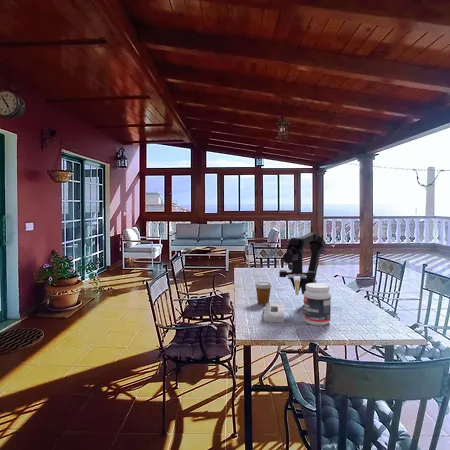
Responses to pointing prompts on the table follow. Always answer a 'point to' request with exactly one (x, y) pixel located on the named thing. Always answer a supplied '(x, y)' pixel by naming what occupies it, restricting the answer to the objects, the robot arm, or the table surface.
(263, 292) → the disposable coffee cup
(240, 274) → the table surface
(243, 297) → the table surface
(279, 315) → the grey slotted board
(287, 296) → the table surface
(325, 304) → the supplement tub
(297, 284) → the tan pronged block
